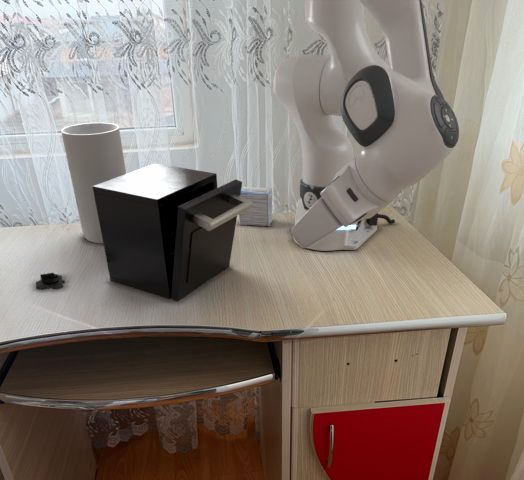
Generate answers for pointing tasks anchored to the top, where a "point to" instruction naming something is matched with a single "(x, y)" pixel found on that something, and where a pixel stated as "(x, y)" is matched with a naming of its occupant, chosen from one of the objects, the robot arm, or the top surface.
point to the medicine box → (257, 206)
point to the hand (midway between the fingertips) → (304, 236)
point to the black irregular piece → (50, 281)
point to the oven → (146, 222)
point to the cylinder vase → (92, 167)
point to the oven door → (205, 237)
